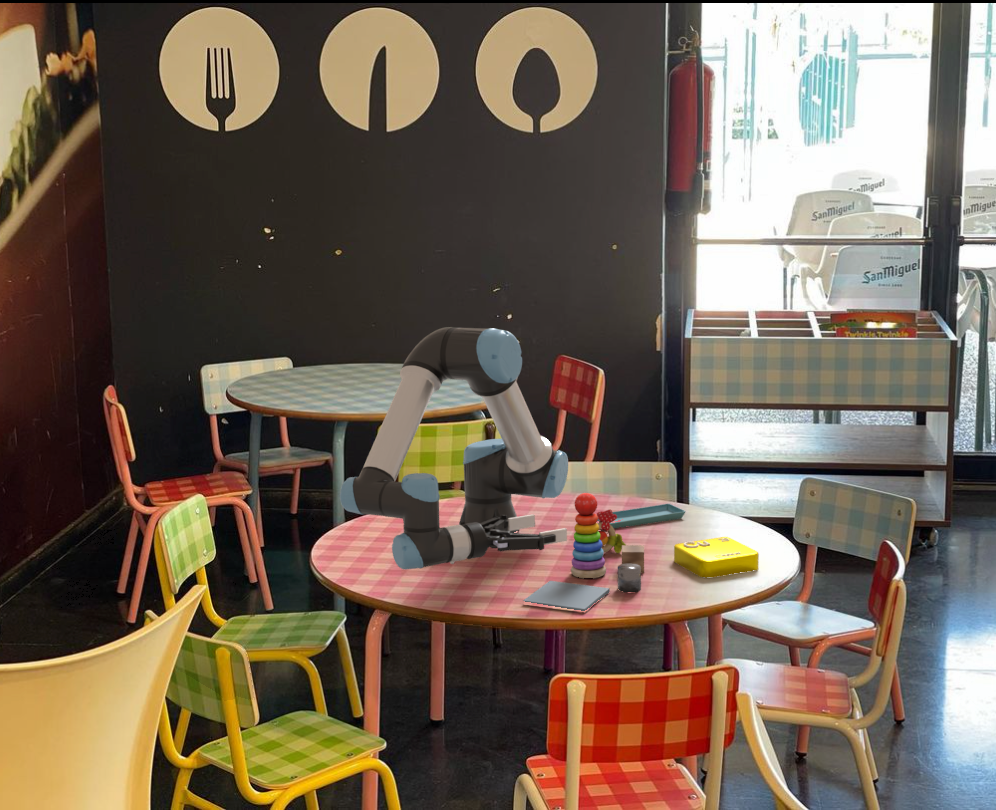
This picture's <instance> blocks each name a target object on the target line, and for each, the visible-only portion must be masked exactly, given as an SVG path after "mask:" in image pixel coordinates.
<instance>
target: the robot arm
mask: <svg viewBox="0 0 996 810" xmlns="http://www.w3.org/2000/svg"><path fill="white" fill-rule="evenodd" d="M521 355H522V349H521V345H520V342H519V341H518V339H517V338H516V336H515V335H514V334H513V333H511V332H510V331H508V330H504V329H498V328H491V327H490V328H479V327H478V328H476V327H475V328H474V327H454V326H450V327H449V326H448V327H447V326H446V327H442V328H439V329H436V330H434V331H433V332H431V333H429V334H428V335H426V336H425V337H423V338H422V339H421V340H420V341H419V342H418V343H417V344H416V345H415V347H414V348H413V349H412V350H411V352H410V353H409V354H408V355H407V357H406V359H405V360H404V362H403V364H402V367H401V369H400V371H399V372H400V373H399V375H400V378H401V381H400V382H399V384H398V387H397V389H396V391H395V394H394V396H393V398H392V401H391V403H390V405H389V408H388V410H387V412H386V415H385V416H384V419H383V421H382V424H381V426H380V428H379V430H378V432H377V435H376V437H375V440H374V441H373V444H372V446H371V449H370V451H369V453H368V455H367V457H366V460H365V463H364V465H363V467H362V469H361V471H360V473H359V476H354V477H353V476H352V477H351V476H350V477H348V478H346V480H344V481H343V483H342V484H341V487H340V491H339V500H340V501H339V502H340V504H341V506H342V508H343V509H344V510H345V511H347V512H348V513H349V512H350V513H353V514H354V513H355V514H358V515H362V516H363V515H370V516H371V515H372V516H380V517H388V518H393V519H394V518H395V519H401V520H402V522H403V532H402V533H400V534H397V535H395V536H394V538H393V539H392V545H391V550H392V551H391V552H392V556H393V560H394V563H395V564H396V565H397V567H399V568H400V569H401V570H415V569H423V568H427V567H433V566H438V565H442V564H450V565H454V564H455V562H459V561H464V560H466V559H468V560H473V559H478V558H482V557H484V556H485V555H486V553H487V550H488V549H489V548H490V549H497V551H498V552H499V553H500V552H506V551H521V550H522V551H529V550H533V551H534V550H538V551H542V550H544V549H545V545H546V546H547V545H552V544H558V543H564V542H567V541H568V529H567V527H563V528H557V529H552V530H551V529H550V530H546V531H541V532H538V533H514V532H516V531H518V530H519V531H520V530H522V529H529V528H535V527H536V515H535V514H528V515H527V514H526V515H520V516H518V515H517V513H516V510H515V508H514V504H513V501H512V495H516V496H525V497H532V498H533V497H534V498H541V499H555V498H557V497H559V496H560V495H561V493H562V492H563V491H564V488H565V485H566V483H567V480H568V475H569V474H568V472H569V459H568V455H567V453H566V452H564V451H562V450H560V449H558V450H554V448H553V446H552V443H551V442H550V441H549V439H547V438H546V437H545V436H543V435H541V434H540V432H539V430H538V427H537V425H536V423H535V421H534V419H533V417H532V413H531V412H530V409H529V407H528V405H527V402H526V401H525V397H524V396H523V394H522V391H521V389H520V387H519V384H518V382H517V381H518V377H519V376H520V373H521V371H522V366H523V357H522V356H521ZM449 379H450V380H461V381H465V382H467V384H468V386H469V388H470V390H471V391H472V393H473V394H475V395H476V396H478V397H481V398H482V399H483V401H484V403H485V405H486V408H487V410H488V412H489V414H490V417H491V418H492V421H493V423H494V425H495V427H496V429H497V432H498V434H499V435H500V437H501V438H491V439H486V440H485V439H484V440H479V441H474V442H471V444H468V445H467V446H465V448H464V450H463V461H462V464H463V476H464V477H463V478H464V479H463V480H464V481H463V482H464V505H463V507H462V508H463V509H462V512H461V515H460V519H459V523H458V524H454V525H449V526H443V527H441V525H440V497H441V496H440V493H439V482H438V481H439V480H438V478H437V477H436V475H434V474H431V473H426V472H422V473H418V472H417V473H416V472H415V473H409V474H406V475H404V476H403V478H402V479H401V481H396V480H397V478H398V476H399V473H400V470H401V467H402V466H403V463H404V461H405V459H406V457H407V454H408V451H409V449H410V447H411V444H412V442H413V440H414V438H415V435H416V433H417V431H418V428H419V426H420V423H421V422H422V419H423V417H424V415H425V412H426V410H427V407H428V406H429V402H430V400H431V398H432V395H433V394H434V393H436V392H438V391H439V390H440V389H441V386H442V383H444V382H445V381H446V380H449Z"/></svg>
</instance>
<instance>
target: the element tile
mask: <svg viewBox="0 0 996 810" xmlns="http://www.w3.org/2000/svg"><path fill="white" fill-rule="evenodd" d="M673 548H674V549H673V557H674V558H673V561H674V563H675V564H676V565H678V566H680V567H682V568H683V567H684V569H685V570H687V571H689V572H690V571H691V572H690V573H692V572H693V573H692V574H694V573H695V575H696V576H697V575H698V576H697V577H699V576H700V578H703V577H705V578H704V579H708V578H707V577H713V578H718V577H717V576H720V577H724V576H723V575H726V576H730V575H729V574H732V575H735V574H734V573H738V574H741V573H740V572H745V573H748V572H747V571H751V572H754V571H753V570H756V571H758V570H759V555H760V554H759V551H757V550H755V549H753V548H751V547H749V546H747V545H745V544H743V543H741V542H740V541H737V540H735V539H733V538H731V537H728V536H722V537H721V536H720V537H714V538H707V539H700V540H694V541H692V540H691V541H686V542H680V543H676V544H674V545H673ZM757 569H758V570H757Z"/></svg>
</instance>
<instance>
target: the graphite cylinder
mask: <svg viewBox="0 0 996 810" xmlns="http://www.w3.org/2000/svg"><path fill="white" fill-rule="evenodd" d="M618 589H619V590H620V591H619V590H618ZM617 590H618V591H619V592H621V591H623V592H622V593H625V592H635V593H638V592H640V591H641V590H642V573H641V566H639V565H637V564H622V563H621V564H618V565H617Z"/></svg>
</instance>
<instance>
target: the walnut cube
mask: <svg viewBox="0 0 996 810" xmlns="http://www.w3.org/2000/svg"><path fill="white" fill-rule="evenodd" d="M621 564H637V565H639V566H641V574H645V545H635V544H634V545H633V544H632V545H629V544H628V545H627V544H626V545H622V550H621Z"/></svg>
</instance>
